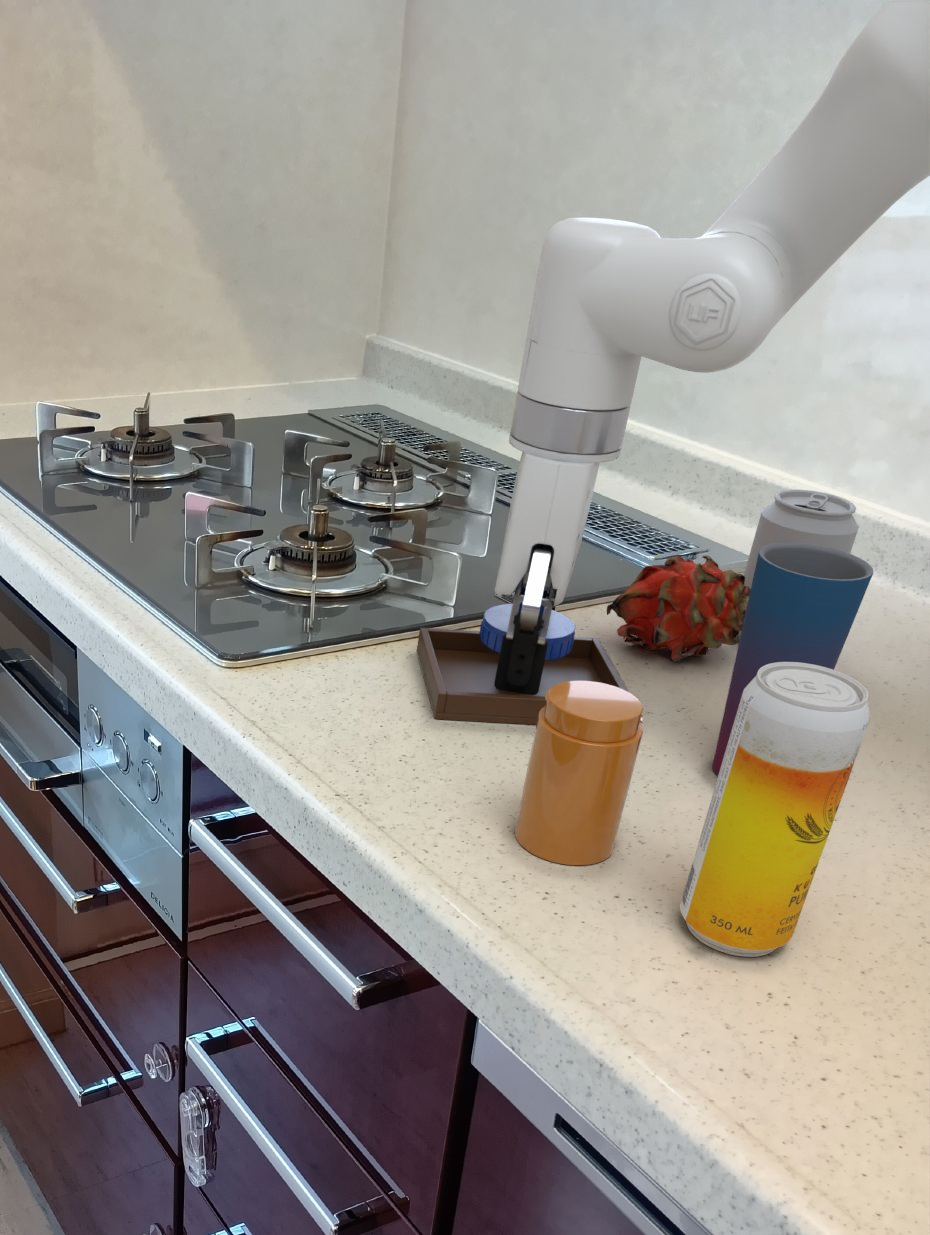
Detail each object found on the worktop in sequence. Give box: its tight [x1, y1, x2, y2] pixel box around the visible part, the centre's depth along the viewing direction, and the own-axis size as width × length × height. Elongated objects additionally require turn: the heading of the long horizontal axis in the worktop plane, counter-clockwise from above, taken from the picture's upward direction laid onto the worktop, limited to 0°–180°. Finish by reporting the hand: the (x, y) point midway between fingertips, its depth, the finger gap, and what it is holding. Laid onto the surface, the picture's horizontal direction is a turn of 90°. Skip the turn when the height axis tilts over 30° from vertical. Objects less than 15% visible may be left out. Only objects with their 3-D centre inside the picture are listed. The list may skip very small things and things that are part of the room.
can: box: [737, 488, 860, 639], centre depth 107 cm, size 8×8×12 cm
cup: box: [711, 542, 874, 776], centre depth 85 cm, size 7×7×15 cm
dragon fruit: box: [606, 554, 751, 662], centre depth 105 cm, size 8×8×12 cm
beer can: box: [679, 662, 871, 958], centre depth 69 cm, size 6×6×15 cm
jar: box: [514, 681, 644, 866], centre depth 77 cm, size 6×6×9 cm
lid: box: [479, 603, 576, 660], centre depth 96 cm, size 7×7×2 cm
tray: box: [416, 627, 630, 726], centre depth 98 cm, size 14×12×2 cm
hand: (520, 669), depth 97 cm, fingers closed on lid, 6 cm apart
